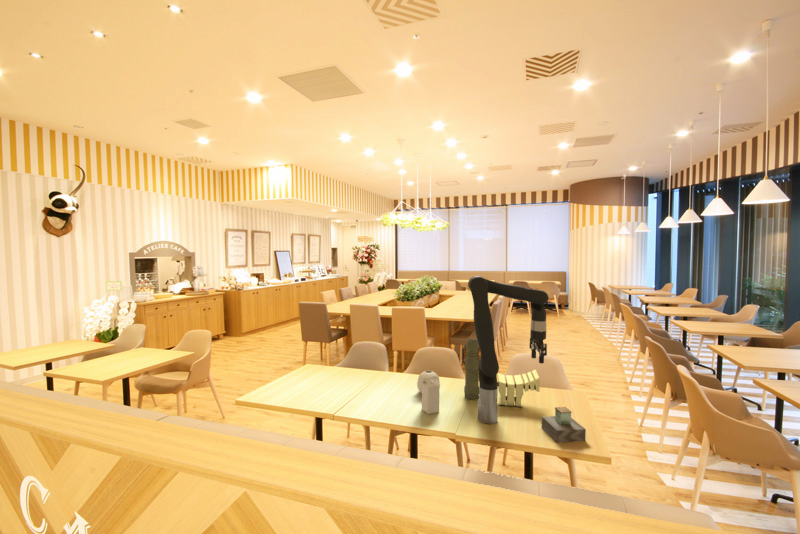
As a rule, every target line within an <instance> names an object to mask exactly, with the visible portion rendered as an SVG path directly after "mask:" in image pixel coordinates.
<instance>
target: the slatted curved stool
mask: <svg viewBox="0 0 800 534" xmlns="http://www.w3.org/2000/svg"><path fill="white" fill-rule="evenodd" d="M540 381H541V380H540V376H539V374H538V372H537V370H536V369H533V370H531V371H529V372H527V373H522V374H515V375H508V374H506V375H505V374H503V373H499V372H498V373H497V383H498V397H497V404H498V403H499V404H498V406H500V405H501V406H511V407H514V406H515V407H520V408H522V407H523V404H521V403H522V399H523V397H524V392H525V393H526V392H528V391H529V390H530V391H533V392H534V391H536V392H540V391H541V389H540V386H541V385H540Z"/></svg>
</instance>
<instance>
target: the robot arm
mask: <svg viewBox="0 0 800 534" xmlns="http://www.w3.org/2000/svg"><path fill="white" fill-rule="evenodd" d="M467 286H468V289H469V290H470V292H471V297H472V302H473V326H474V327H473V328H474V332H475V336H476V337H475V338H476V340H477V341H478V344H479V347H480V349H479V350H480V351H479V352H480V358H479V359H480V361H479V399H477V418H478V420H479V422H480V423H482V424H489V425H490V424H495V423H497V422H498V397H497V396H498V394H499V389H498V383H497V382H498V373H499V370H500V365H499V361H498V357H497V354H496V353H497V352H496V348H495V346H496V345H495V333H494V324H493V318H492V312H491V308H490V303H489V294H494V295H498V296H501V297H505V298H508V299H513V300H516V301H517V300H518V301H523V302H528V303H530V307H531V317H530V318H531V320H530V333H529V334H530V335H529V336H530V337H529V349H530V352H531V354H530V356H531V359H537V352H538V363H539V364H544V363H545V357H546V356H548V348H547V347H548V344H547V343H545V342H544V340H546V339H547V311H546V309H545V304H547V303H548V301H549V300H550V299H549V297H550V296H549V295H548V293H547V292H546V291H544V290H541V289H539V288H538V289H534V288H529V287H525V286H520V285H517V284H516V285H515V284H510V283H509V284H508V283H503V282H498V281H495V280H490V279H488V278H487V279H486V278H485V277H483V276H481V275H473V276H472V277H470V278H469V280H468V282H467Z"/></svg>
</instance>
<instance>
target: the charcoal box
mask: <svg viewBox="0 0 800 534" xmlns="http://www.w3.org/2000/svg"><path fill="white" fill-rule="evenodd" d="M541 429H542V430H543V431H544V432H545V433H546V434H547V435H548V436H549V437H550V438H551V439H552V440H553V441H554V442H555V443H573V442H574V441H578V442H586V432H587V431H586V428H585V427H584V426H582V425H581V424H580V423H578V422H577V421H576V420H575V419H573V418H572V417H571V425H560V424H559V423H558V422H557V421H555V415H554V416H553V415H548V416H541ZM574 443H575V442H574Z"/></svg>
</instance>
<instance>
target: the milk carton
mask: <svg viewBox="0 0 800 534" xmlns="http://www.w3.org/2000/svg"><path fill="white" fill-rule="evenodd" d="M421 410H422V411H424V412H425V413H426V414H427V415H430V414H431V415H432V414H437V413H439V412H440V388H439V383H438V380H437V378H436V376H431V377H425V380H424V381H423V382H422V393H421Z"/></svg>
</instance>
